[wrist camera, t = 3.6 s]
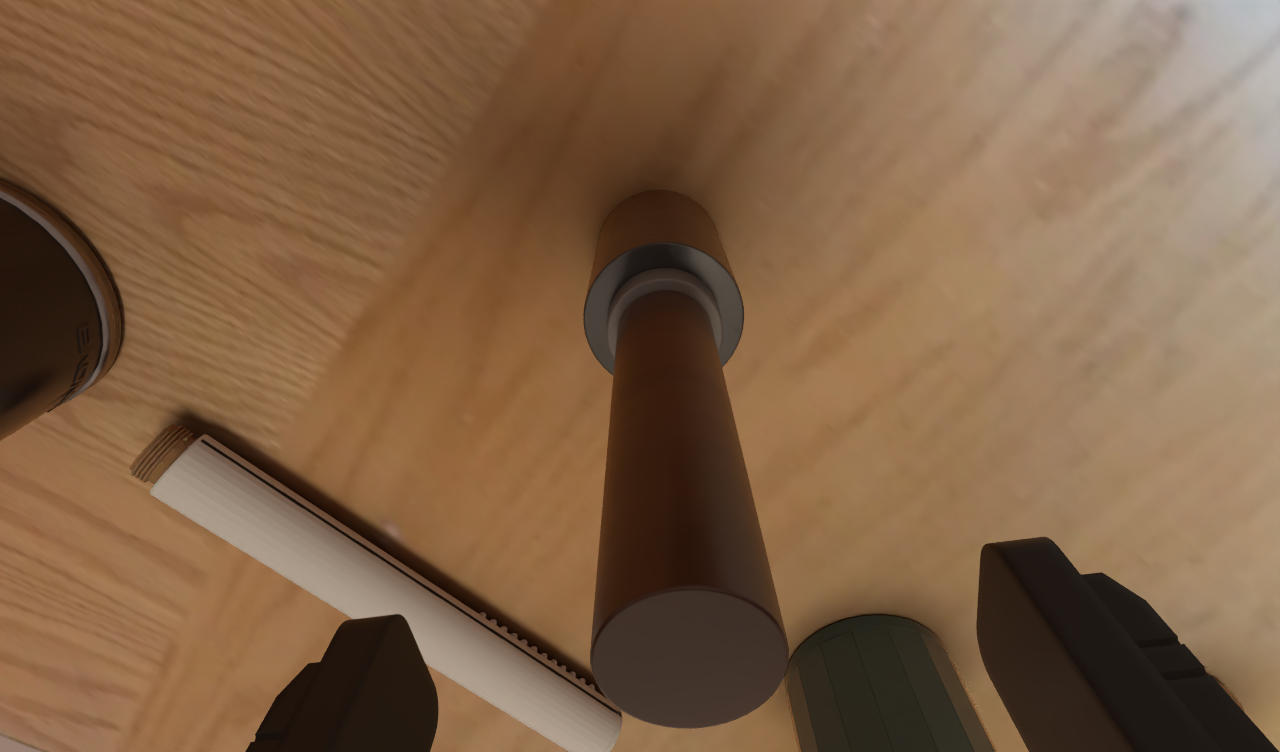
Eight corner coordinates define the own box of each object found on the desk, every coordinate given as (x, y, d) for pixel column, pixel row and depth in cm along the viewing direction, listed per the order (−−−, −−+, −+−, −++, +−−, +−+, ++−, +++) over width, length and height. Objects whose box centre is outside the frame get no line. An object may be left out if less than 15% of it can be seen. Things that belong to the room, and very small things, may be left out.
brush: (573, 266, 26) (448, 692, 9) (643, 164, 25) (648, 455, 8) (671, 330, 27) (719, 814, 10) (744, 237, 26) (943, 632, 9)
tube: (158, 447, 30) (586, 721, 38) (109, 490, 27) (582, 776, 35) (192, 404, 29) (624, 693, 37) (145, 443, 26) (623, 747, 34)
